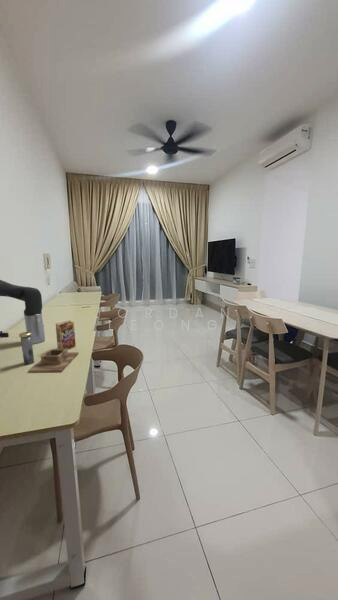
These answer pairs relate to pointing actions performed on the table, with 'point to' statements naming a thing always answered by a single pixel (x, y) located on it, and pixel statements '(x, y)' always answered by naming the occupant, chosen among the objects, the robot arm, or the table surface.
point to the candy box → (65, 335)
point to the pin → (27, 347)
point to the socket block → (54, 361)
